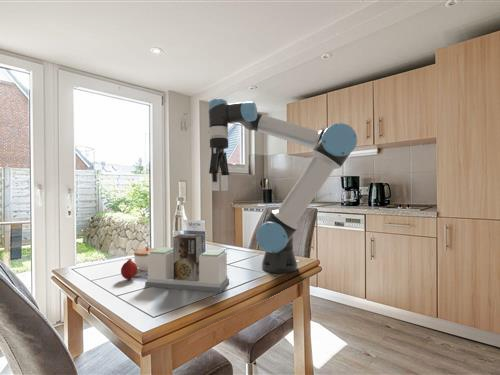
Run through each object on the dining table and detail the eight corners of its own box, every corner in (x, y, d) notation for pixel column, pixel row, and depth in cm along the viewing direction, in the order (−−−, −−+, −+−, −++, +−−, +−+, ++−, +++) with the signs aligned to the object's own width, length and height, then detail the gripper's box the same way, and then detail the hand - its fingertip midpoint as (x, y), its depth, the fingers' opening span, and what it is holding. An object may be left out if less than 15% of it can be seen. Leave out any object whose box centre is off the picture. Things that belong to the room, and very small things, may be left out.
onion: (127, 283, 102) (127, 261, 102) (117, 280, 105) (117, 259, 105) (140, 279, 107) (140, 258, 107) (131, 276, 110) (131, 256, 110)
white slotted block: (229, 282, 103) (229, 249, 103) (220, 292, 93) (220, 255, 93) (160, 277, 109) (160, 246, 109) (145, 286, 99) (145, 252, 99)
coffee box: (203, 278, 103) (203, 234, 103) (196, 283, 97) (196, 237, 97) (180, 276, 105) (180, 233, 105) (172, 282, 99) (172, 236, 99)
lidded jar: (137, 273, 114) (137, 250, 114) (131, 267, 122) (131, 246, 122) (163, 269, 120) (163, 247, 120) (155, 263, 129) (155, 243, 129)
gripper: (218, 143, 127) (219, 190, 126) (199, 133, 102) (201, 191, 102) (234, 143, 125) (236, 190, 125) (219, 131, 101) (221, 190, 101)
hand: (220, 190), depth 113 cm, fingers open, 13 cm apart
